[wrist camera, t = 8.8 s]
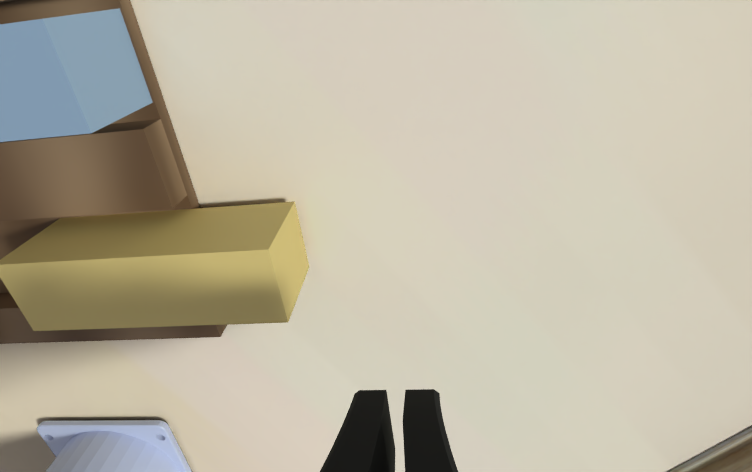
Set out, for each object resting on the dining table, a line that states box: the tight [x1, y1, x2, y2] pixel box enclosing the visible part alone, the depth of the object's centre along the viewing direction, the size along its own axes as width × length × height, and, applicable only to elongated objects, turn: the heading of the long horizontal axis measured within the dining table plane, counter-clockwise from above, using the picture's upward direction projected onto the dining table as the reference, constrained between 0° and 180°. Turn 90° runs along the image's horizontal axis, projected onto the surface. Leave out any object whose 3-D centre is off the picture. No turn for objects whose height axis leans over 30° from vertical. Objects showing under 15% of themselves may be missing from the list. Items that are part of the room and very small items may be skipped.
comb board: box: [0, 0, 227, 344], centre depth 17 cm, size 12×15×3 cm
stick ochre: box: [0, 202, 309, 331], centre depth 18 cm, size 10×3×4 cm, turn 97°
